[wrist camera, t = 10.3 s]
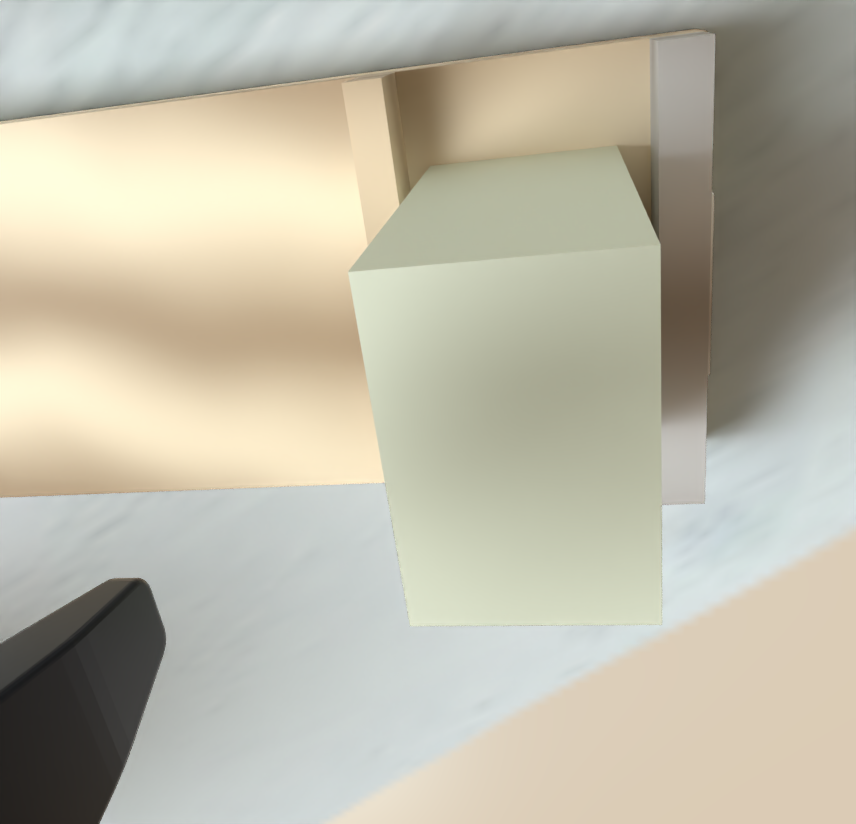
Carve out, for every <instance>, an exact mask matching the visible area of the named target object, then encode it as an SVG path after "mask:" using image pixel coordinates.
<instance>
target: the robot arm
mask: <svg viewBox="0 0 856 824" xmlns="http://www.w3.org/2000/svg"><path fill="white" fill-rule="evenodd" d="M165 645H166V634H165V629H164V626H163V623H162V620H161V617H160V614H159V611H158V608H157V605H156V602H155V599H154V597H153V594H152V591H151V588H150V586H149V584H148V583H147V582H146V581H145V580H143V579H141V578H114V579H110V580H108V581H106V582H104V583H102V584H101V585H99V586H97V587H95V588H94V589H92V590H90V591H89V592H87V593H85V594H84V595H82V596H80V597H78V598H77V599H75V600H73V601H72V602H70V603H68V604H67V605H65V606H63V607H61V608H60V609H58V610H56V611H55V612H53V613H51V614H50V615H48V616H46V617H45V618H43V619H41V620H39V621H38V622H36V623H34V624H33V625H31V626H29V627H28V628H26V629H24V630H22V631H21V632H19V633H17V634H16V635H14V636H12V637H11V638H9V639H7V640H5V641H4V642H2V643H0V824H99V823H100V821H101V819H102V817H103V815H104V812H105V810H106V808H107V806H108V804H109V801H110V799H111V797H112V795H113V793H114V790H115V788H116V786H117V784H118V781H119V779H120V777H121V774H122V772H123V770H124V767H125V764H126V762H127V759H128V756H129V754H130V751H131V749H132V746H133V743H134V740H135V737H136V734H137V731H138V728H139V725H140V722H141V719H142V716H143V713H144V710H145V707H146V704H147V701H148V699H149V696H150V693H151V690H152V687H153V684H154V681H155V678H156V675H157V672H158V669H159V666H160V663H161V660H162V657H163V654H164V651H165Z"/></svg>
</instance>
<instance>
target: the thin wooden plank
mask: <svg viewBox="0 0 856 824" xmlns="http://www.w3.org/2000/svg"><path fill="white" fill-rule="evenodd" d="M715 36H716V34H714V33H708V32H707V31H706V30H700V29H690V30H683V31H675V32H668V33H660V34H653V35H645V36H638V37H630V38H623V39H615V40H608V41H600V42H593V43H585V44H578V45H570V46H563V47H555V48H548V49H540V50H533V51H525V52H517V53H510V54H502V55H495V56H487V57H480V58H472V59H465V60H457V61H450V62H442V63H435V64H427V65H420V66H412V67H405V68H397V69H390V70H382V71H375V72H367V73H360V74H352V75H345V76H337V77H330V78H322V79H315V80H307V81H300V82H292V83H285V84H277V85H270V86H262V87H255V88H247V89H239V90H232V91H224V92H217V93H209V94H202V95H194V96H187V97H179V98H172V99H164V100H157V101H149V102H142V103H134V104H127V105H119V106H112V107H104V108H97V109H89V110H82V111H74V112H67V113H59V114H52V115H44V116H37V117H29V118H22V119H14V120H7V121H0V497H26V496H52V495H78V494H104V493H130V492H156V491H182V490H208V489H234V488H260V487H286V486H312V485H338V484H364V483H385V481H384V475H383V469H382V464H381V458H380V452H379V447H378V441H377V435H376V429H375V424H374V418H373V412H372V407H371V401H370V395H369V389H368V384H367V378H366V372H365V367H364V361H363V355H362V350H361V344H360V338H359V332H358V327H357V321H356V315H355V310H354V304H353V298H352V293H351V287H350V281H349V275H348V271H349V270H350V269H351V267H352V266H353V265H354V264H355V262H356V261H357V260H358V258H359V257H360V256H361V255H362V253H363V252H364V251H365V249H366V248H367V247H368V246H369V244H370V243H371V242H372V240H373V239H374V238H375V237H376V235H377V234H378V233H379V231H380V230H381V229H382V227H383V226H384V225H385V224H386V222H387V221H388V220H389V218H390V217H391V216H392V215H393V213H394V212H395V211H396V209H397V208H398V207H399V206H400V204H401V203H402V202H403V200H404V199H405V198H406V197H407V195H408V194H409V193H410V191H411V190H412V189H413V188H414V186H415V185H416V184H417V182H418V181H419V180H420V179H421V177H422V176H423V175H424V173H425V172H426V171H427V170H428V168H429V167H430V166H434V165H443V164H452V163H461V162H470V161H479V160H488V159H497V158H507V157H516V156H525V155H534V154H543V153H552V152H561V151H570V150H579V149H588V148H597V147H607V146H616V145H617V147H618V149H619V151H620V154H621V156H622V158H623V161H624V163H625V165H626V167H627V170H628V172H629V174H630V176H631V179H632V181H633V183H634V185H635V188H636V190H637V192H638V195H639V197H640V199H641V201H642V204H643V206H644V208H645V210H646V213H647V215H648V217H649V220H650V222H651V224H652V226H653V229H654V231H655V233H656V235H657V238H658V240H659V242H660V245H661V460H662V505H673V504H704V503H705V476H706V432H707V388H708V375H710V357H711V316H712V274H713V232H714V193H713V192H712V168H713V124H714V80H715Z"/></svg>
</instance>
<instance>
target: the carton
mask: <svg viewBox="0 0 856 824" xmlns="http://www.w3.org/2000/svg"><path fill="white" fill-rule="evenodd" d="M348 275H349V281H350V287H351V293H352V298H353V304H354V310H355V315H356V321H357V327H358V332H359V338H360V344H361V350H362V355H363V361H364V367H365V372H366V378H367V384H368V389H369V395H370V401H371V407H372V412H373V418H374V424H375V429H376V435H377V441H378V447H379V452H380V458H381V464H382V469H383V475H384V481H385V486H386V492H387V498H388V504H389V509H390V515H391V521H392V526H393V532H394V538H395V543H396V549H397V555H398V561H399V566H400V572H401V578H402V583H403V589H404V595H405V600H406V606H407V612H408V618H409V623H410V626H543V625H662V460H661V245H660V242H659V240H658V238H657V235H656V233H655V231H654V229H653V226H652V224H651V222H650V220H649V217H648V215H647V213H646V210H645V208H644V206H643V204H642V201H641V199H640V197H639V195H638V192H637V190H636V188H635V185H634V183H633V181H632V179H631V176H630V174H629V172H628V170H627V167H626V165H625V163H624V161H623V158H622V156H621V154H620V151H619V149H618V147H617V145H616V146H607V147H597V148H588V149H579V150H570V151H561V152H552V153H543V154H534V155H525V156H516V157H507V158H497V159H488V160H479V161H470V162H461V163H452V164H443V165H434V166H430V167H429V168H428V170H427V171H426V172H425V173H424V175H423V176H422V177H421V179H420V180H419V181H418V182H417V184H416V185H415V186H414V188H413V189H412V190H411V191H410V193H409V194H408V195H407V197H406V198H405V199H404V200H403V202H402V203H401V204H400V206H399V207H398V208H397V209H396V211H395V212H394V213H393V215H392V216H391V217H390V218H389V220H388V221H387V222H386V224H385V225H384V226H383V227H382V229H381V230H380V231H379V233H378V234H377V235H376V237H375V238H374V239H373V240H372V242H371V243H370V244H369V246H368V247H367V248H366V249H365V251H364V252H363V253H362V255H361V256H360V257H359V258H358V260H357V261H356V262H355V264H354V265H353V266H352V267H351V269H350V270H349V271H348Z"/></svg>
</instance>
